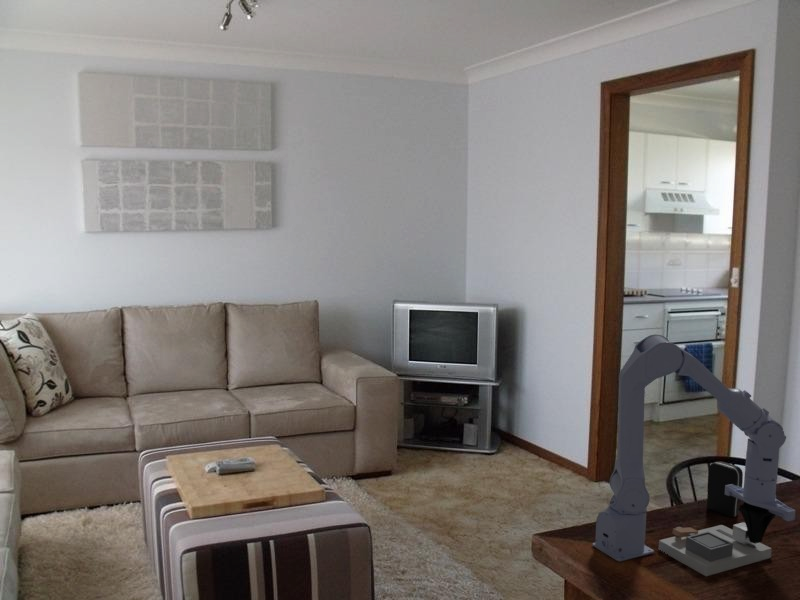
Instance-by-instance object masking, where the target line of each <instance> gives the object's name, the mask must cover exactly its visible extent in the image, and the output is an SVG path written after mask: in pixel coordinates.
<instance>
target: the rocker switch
mask: <svg viewBox="0 0 800 600" xmlns="http://www.w3.org/2000/svg"><path fill="white" fill-rule="evenodd" d="M698 531H699V530H697V529H695V528H693V527H682V528H676V527H675V528H673V529H672V534H673V535H674V536H675V535H677V536H678V537H688V536H689V534H692V533H694V534H695V535H696V534H698Z"/></svg>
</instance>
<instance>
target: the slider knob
mask: <svg viewBox="0 0 800 600" xmlns="http://www.w3.org/2000/svg"><path fill="white" fill-rule="evenodd" d="M732 530H733V535H732V539H733V540H735V541H737V542H739V543H742V544H744V545H747V544H751V543H752V542H750V541H749V536H748V531H747V527H746V523H745V521H743V522H740V523H736V524H733V525H732Z"/></svg>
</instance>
